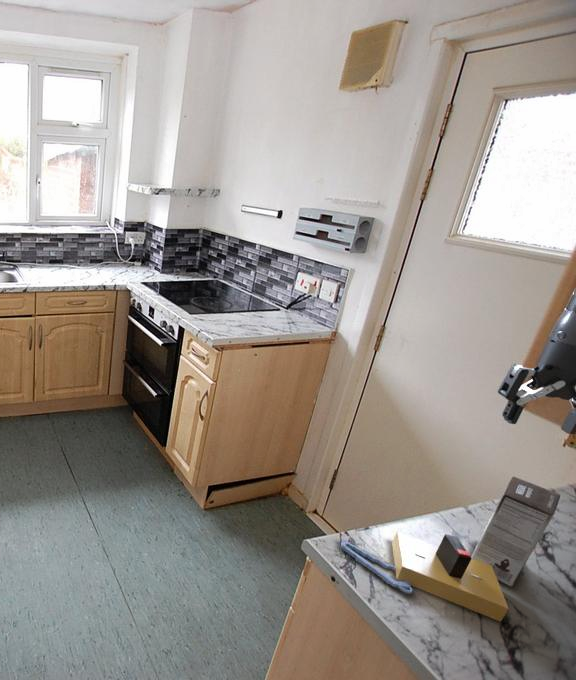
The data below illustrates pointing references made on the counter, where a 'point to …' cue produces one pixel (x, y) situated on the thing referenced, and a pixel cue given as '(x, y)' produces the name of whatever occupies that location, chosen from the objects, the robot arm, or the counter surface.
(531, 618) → the counter surface
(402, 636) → the counter surface
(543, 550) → the counter surface
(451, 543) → the lock knob
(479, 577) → the tan flat wooden block
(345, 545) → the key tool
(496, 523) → the coffee box
